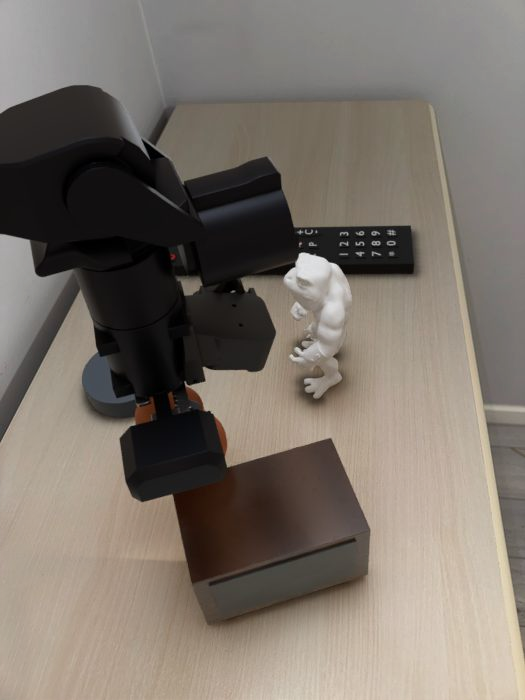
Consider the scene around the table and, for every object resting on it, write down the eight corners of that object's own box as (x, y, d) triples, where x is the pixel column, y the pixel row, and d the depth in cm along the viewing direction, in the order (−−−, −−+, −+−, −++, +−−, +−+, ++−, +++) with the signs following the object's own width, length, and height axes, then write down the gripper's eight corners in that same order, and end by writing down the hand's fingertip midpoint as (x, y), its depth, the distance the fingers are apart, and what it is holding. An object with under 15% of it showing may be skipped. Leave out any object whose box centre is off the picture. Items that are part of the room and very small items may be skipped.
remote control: (172, 238, 92) (169, 226, 91) (409, 234, 88) (410, 222, 87) (161, 275, 87) (158, 263, 86) (413, 273, 83) (414, 261, 82)
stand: (92, 427, 72) (85, 412, 70) (84, 367, 78) (78, 352, 76) (174, 404, 73) (170, 390, 71) (160, 347, 79) (156, 332, 77)
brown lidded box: (210, 632, 56) (191, 587, 49) (188, 534, 62) (170, 483, 56) (368, 582, 58) (371, 532, 51) (332, 492, 64) (331, 437, 57)
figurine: (356, 405, 70) (358, 301, 59) (293, 409, 71) (282, 306, 60) (347, 331, 78) (347, 225, 67) (290, 334, 78) (280, 230, 67)
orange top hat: (140, 501, 51) (124, 465, 48) (128, 424, 56) (113, 386, 53) (236, 474, 52) (228, 437, 49) (216, 401, 57) (207, 362, 54)
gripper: (300, 373, 37) (309, 515, 48) (226, 189, 49) (248, 336, 61) (97, 425, 36) (157, 558, 47) (74, 223, 48) (126, 367, 60)
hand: (177, 441), depth 54 cm, fingers closed on orange top hat, 5 cm apart
